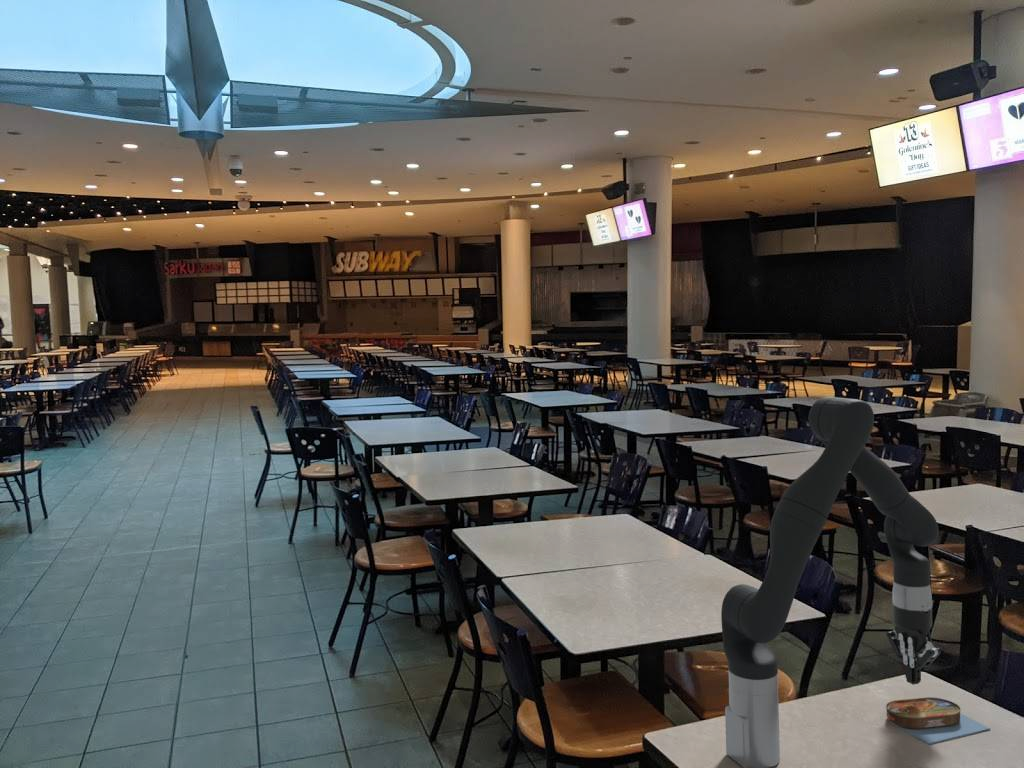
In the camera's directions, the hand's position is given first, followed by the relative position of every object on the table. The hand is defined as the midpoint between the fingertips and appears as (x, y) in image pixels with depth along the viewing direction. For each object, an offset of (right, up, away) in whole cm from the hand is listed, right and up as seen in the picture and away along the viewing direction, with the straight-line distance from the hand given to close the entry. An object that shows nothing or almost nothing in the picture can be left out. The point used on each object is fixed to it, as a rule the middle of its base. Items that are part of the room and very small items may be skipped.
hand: (913, 682), depth 170 cm
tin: (0, -5, +1) cm, 5 cm away
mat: (+2, -7, -6) cm, 9 cm away
